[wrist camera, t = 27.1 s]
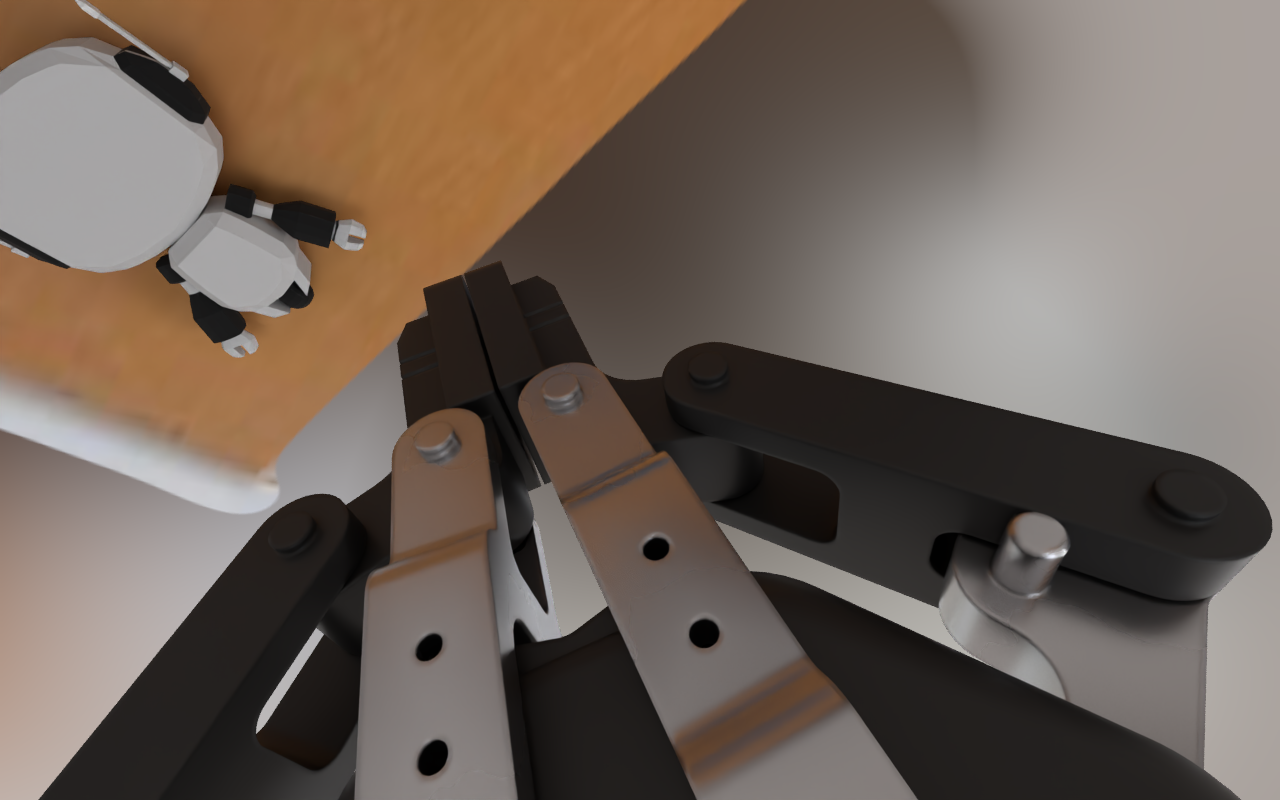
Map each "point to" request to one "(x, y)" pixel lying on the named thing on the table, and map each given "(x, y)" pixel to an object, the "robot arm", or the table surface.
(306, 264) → the robot toy
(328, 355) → the table surface
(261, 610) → the robot arm
